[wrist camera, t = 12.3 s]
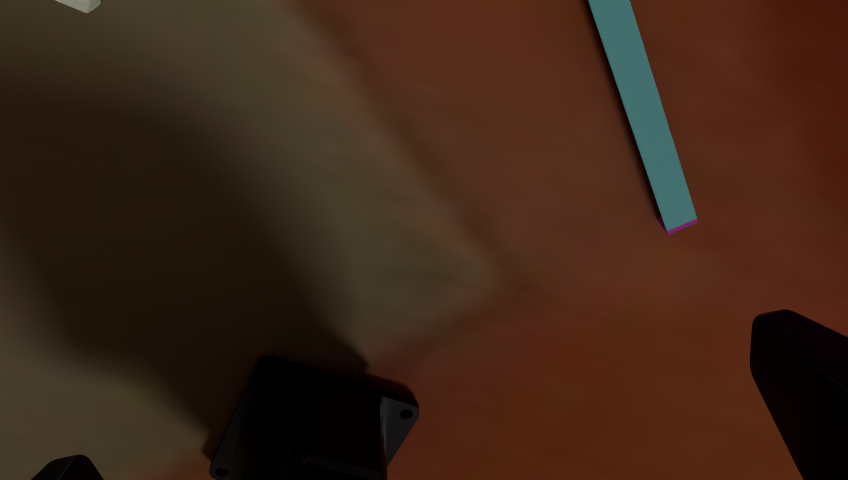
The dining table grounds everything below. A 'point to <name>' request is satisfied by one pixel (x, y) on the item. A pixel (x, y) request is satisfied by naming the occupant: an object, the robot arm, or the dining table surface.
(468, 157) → the dining table surface
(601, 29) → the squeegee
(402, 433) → the robot arm
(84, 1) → the sage board
